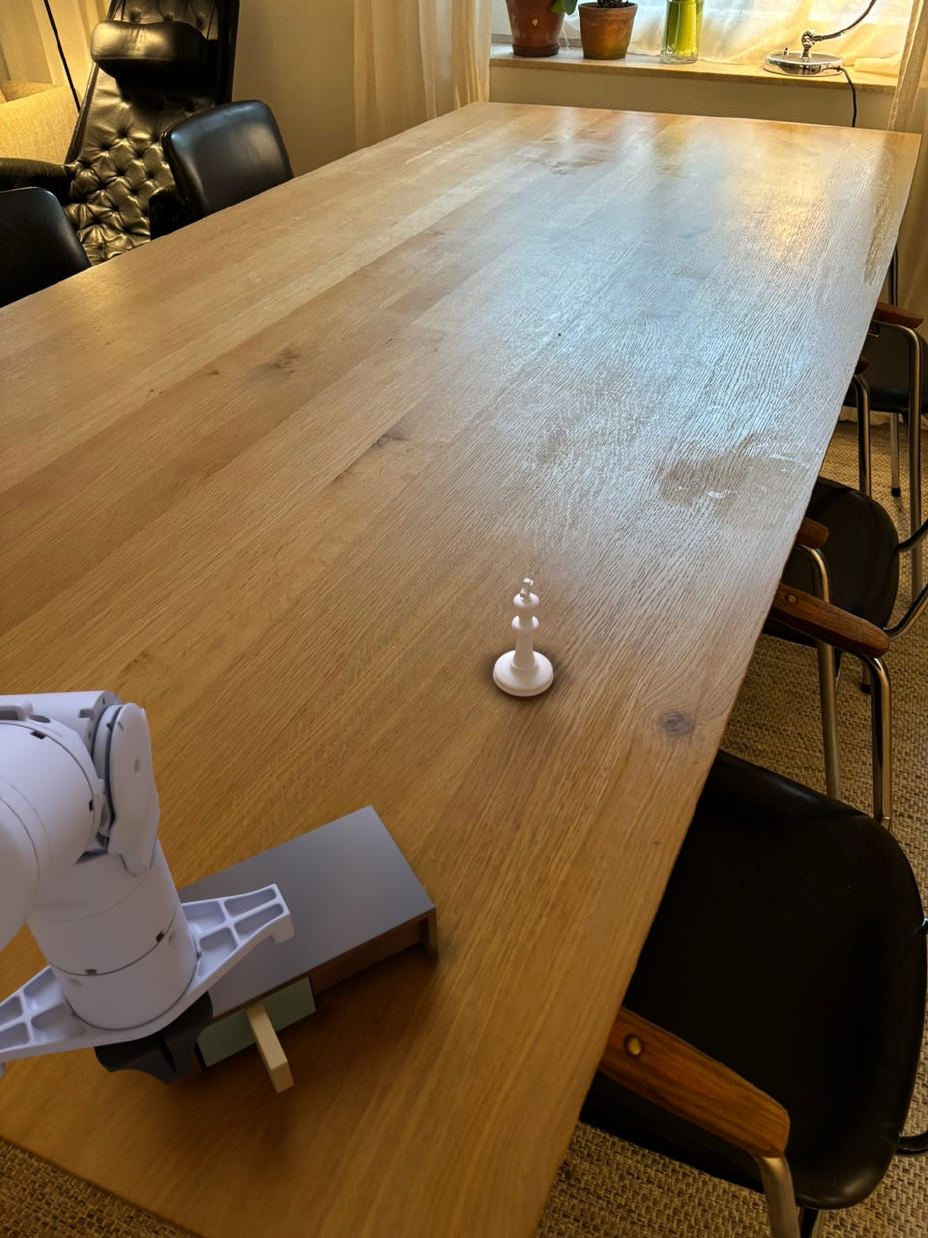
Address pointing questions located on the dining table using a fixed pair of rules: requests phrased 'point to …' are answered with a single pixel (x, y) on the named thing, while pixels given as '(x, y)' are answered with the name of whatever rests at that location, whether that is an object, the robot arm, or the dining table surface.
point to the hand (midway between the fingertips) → (173, 1062)
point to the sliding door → (260, 1030)
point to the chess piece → (524, 652)
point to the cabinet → (323, 910)
